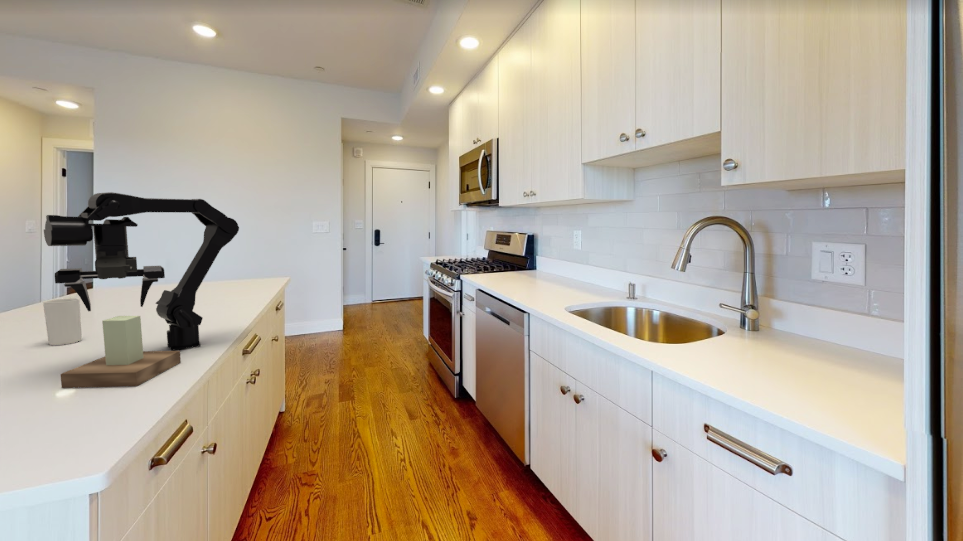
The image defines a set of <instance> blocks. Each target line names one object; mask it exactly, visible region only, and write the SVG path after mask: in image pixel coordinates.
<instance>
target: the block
mask: <svg viewBox="0 0 963 541" xmlns="http://www.w3.org/2000/svg"><path fill="white" fill-rule="evenodd" d="M141 319H142V318H141V315H117V316H115V317H114V316H113V317H110V318H107V319H103V320H102V333H103V334H102V335H103V342H104V343H103V344H104V354H105V355H104V357H105V358H106V365H129V364H131V363H134V362H136V361H138V360H140V359H142V358H143V351H144V348H143V346H144V345H143V333H142V321H141Z"/></svg>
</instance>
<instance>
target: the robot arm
mask: <svg viewBox="0 0 963 541" xmlns="http://www.w3.org/2000/svg"><path fill="white" fill-rule="evenodd" d="M87 201H88V202H87V206H86V208H85V209H84V210H83V211H81V213H79V215H78V216H69V215H68V216H67V215H66V216H63V215H57V214H46V215H45V218H46V220H45V225H44V229H43V236H44V240H45V243H46V245H47V246H48V247H73V246H74V247H75V246H76V247H78V246H79V247H82V246H87V243H88V242H92V241H93V239H94V242H93V243H94V252H95V253H94V254H95V261H94V268H95V269H94V270H86V271H85V270H83V269H82V267H81V268H80V267H79V268H78V267H77V268H60V269H58V270H57V271H56V272H54V283H55V284H63V286H64V287H65V288H68V287H69V288H72V290H74V292H75V293H76V294H77V295H78V296H79V297H80V298H79V299H81V301H82V304H83V305H84V306H85V308H86V310H87V311H88V312H91V311H92V304H91V300H90V297H89V296H90V295H89V292H88V291H89V290H88V288H87V283H86V280H88V279H89V280H92V279H99V280H107V279H125V278H131V277H133V278H134V277H142V278H141V279H142V280H141V288H140V289H141V290H140V300H139V301H140V307H141V308H143V306H144V304H145V301H146V299H147V295H148V293H149V290H150V289H151V286H153V283H158V282H159V279H165V278H166V277H165V268H164V267H163V266H162V265H143V266H142V267H143V268H138V265H137V264H138V263H137V262H138V261H137V256H129V245H128V230H127V229H128V228H129V227H133V228H134V227H135V228H136V227H138V226H139V225H138V223H136V222H134V220H132V219H131V218H130V217H129V216H132V215H137V214H143V213H191V214H193V215H194V216H195V218H196V219H197V220H198V221H199V222H200V223H201V224H202V225H203V226H204V227H205V228H204V232H203V239H202V240H203V241H202V244H201V246H200V247H199V249H198V250H197V252H196V254H195V255H194V257H193V259H192V260H191V262H190V264H189V266H188V267H187V269H186V270H185V272H184V274H183V275H182V277H181V279H180V281H179V282H178V284H177V286H175V287H174V288H173V289H172V290H171V291H170V290H166V289H165V290H163V291H162V293H161V295H160V298H159V299H158V300H157V301H156V302H155V304H156V305H157V306H156V308H155V311H156V314H157V315H158V316H159V317H160V318H161V319H163V320H164V321H165V322H166V323H167V324H168V330H166V340H167V342H166V344H167V348H170V351H179V350H183V349H190V348H196V347H201V345H202V344H201V342H200V332H199V331H200V327H199V326H201V324H202V322H203V319H204V318H203V316H201V315H200V314H198V313H196V312H195V311H194V308H195V305H196V295H197V292H198V290H199V288H200V286H201V285H202V283H203V281H204V280H205V278H206V276H207V274H208V272H209V271H210V269H211V267H212V265H213V264H214V262H215V260H216V258H217V256H218V255H219V253H220V251H221V250H222V249H223V248H224V247H225V246H227V244H229V243H230V242H232V241H233V239H234V238H235V237H236V236H237V234H238V233H239V230H240V227H239V224H238V222H237V221H236V220H235V219H234V218H231V217H228V216H227V215H226V214H225V213H224V212H222V211H220V210H218V209H217V208H215V207H214V206H212V205H211V204H210V203H209V202H208V201H206V200H205V199H202V198H190V199H184V198H154V197H153V198H152V197H151V198H150V197H149V198H148V197H139V196H136V195H131V194H125V193H119V192H112V191H111V192H98V193H94V194H92V195H91V196H90V197H89V198H88V200H87ZM109 217H110V219H109ZM117 217H118V218H119V217H123V218H121V219H111V218H117ZM107 218H108V219H107ZM104 219H105V220H104ZM90 221H95V222H97V221H103V223H90ZM127 227H128V228H127Z"/></svg>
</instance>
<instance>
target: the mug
mask: <svg viewBox="0 0 963 541" xmlns="http://www.w3.org/2000/svg"><path fill="white" fill-rule="evenodd" d="M42 303H43V304H42V305H43V311H44V319H45V327H46V333H47V334H46V335H47V341H48V345H50V346H64V344H66V345H71V344H70V343H72V344H76V343H79V342H81V341H82V339H83V338H82V321H81V317H82V316H81V304H80V298H77V297H70V298H68V297H65V298H53V299H48V300H44V301H42ZM78 341H79V342H78ZM75 342H76V343H75Z"/></svg>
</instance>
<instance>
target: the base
mask: <svg viewBox="0 0 963 541" xmlns="http://www.w3.org/2000/svg"><path fill="white" fill-rule="evenodd" d="M181 362H182V360H181V351H180V350H157V351H155V350H154V351H153V350H152V351H151V350H150V351H147V350H143V358H142V359H140V360H138V361H136V362H134V363H131V364H129V365H106V358H105V356H101V357H100V358H98V359H95V360H92V361H89V362H87V363H85V364H82V365H79V366H77V367H74V368H71V369H69V370H67V371H64V372H62V373H59V374H60V382H61V383H60V384H61V388H62V389H71V388H73V387H75V388H78V387H79V388H80V387H81V388H112V387H115V388H117V387H120V388H121V387H138V386H140V385H142V384H143V383H146V382H148V381H150V380H151V379H153V378H155V377H157V376H158V375H160V374H162V373H164V372H166V371H168V370H170V369H171V368H173V367H176V366H178V364H181ZM81 388H80V389H81ZM73 389H74V388H73Z"/></svg>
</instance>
